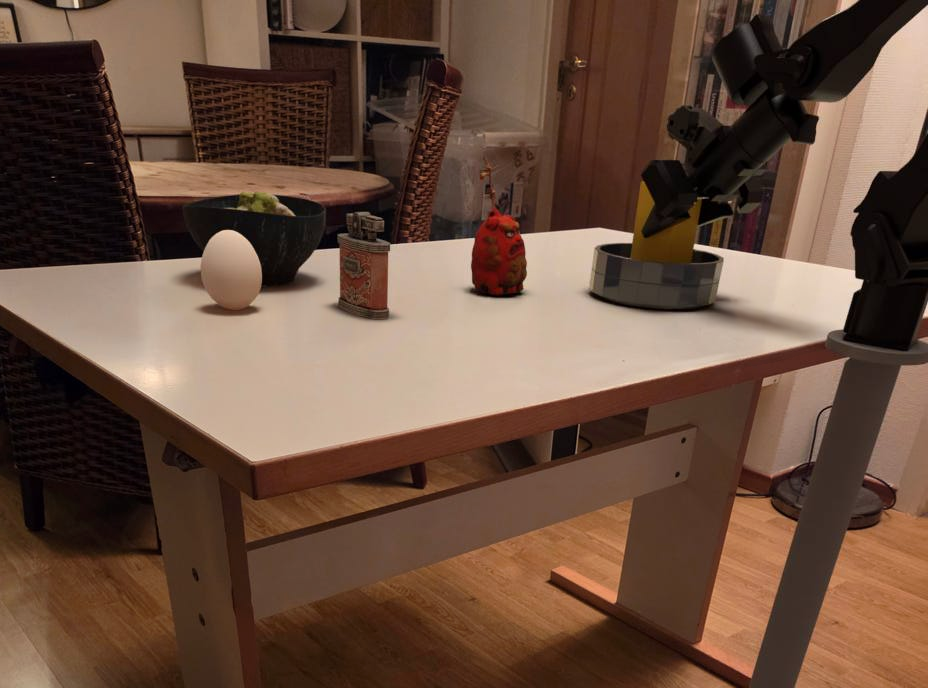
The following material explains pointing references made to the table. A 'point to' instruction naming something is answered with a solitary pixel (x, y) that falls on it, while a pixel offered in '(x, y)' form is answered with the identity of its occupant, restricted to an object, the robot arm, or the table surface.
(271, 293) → the table surface
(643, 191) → the sponge
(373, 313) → the lighter
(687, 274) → the slate bowl
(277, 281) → the bowl
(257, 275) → the egg
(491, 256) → the red clay folk toy
